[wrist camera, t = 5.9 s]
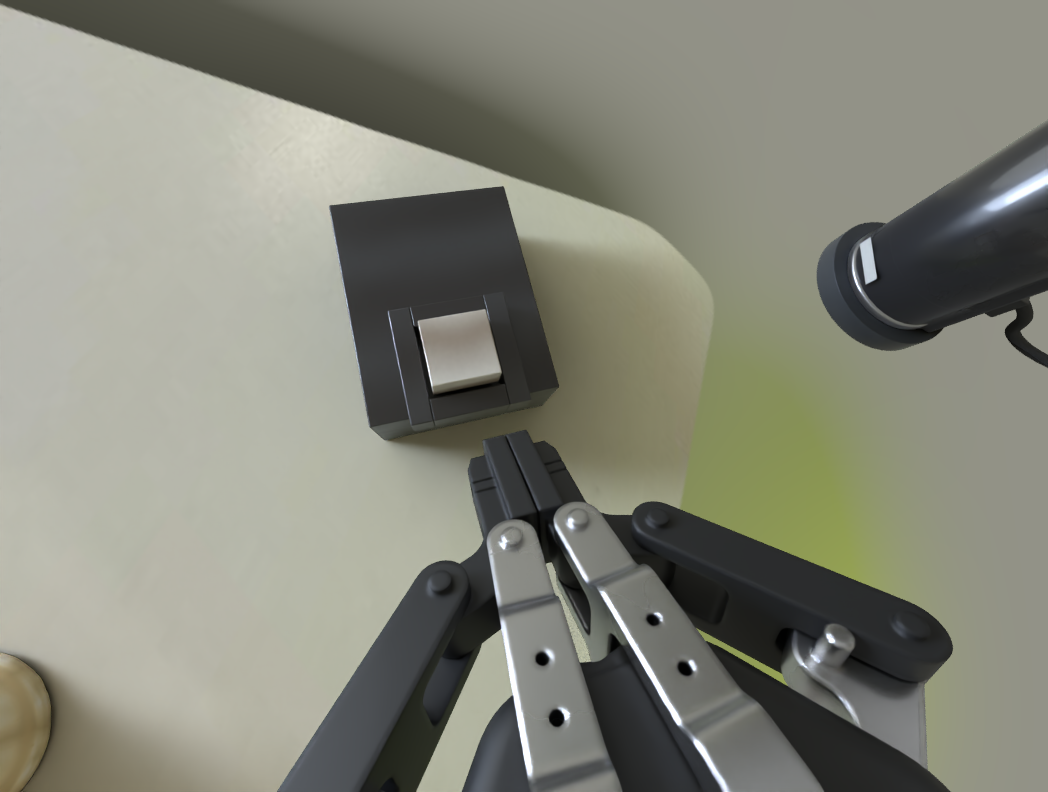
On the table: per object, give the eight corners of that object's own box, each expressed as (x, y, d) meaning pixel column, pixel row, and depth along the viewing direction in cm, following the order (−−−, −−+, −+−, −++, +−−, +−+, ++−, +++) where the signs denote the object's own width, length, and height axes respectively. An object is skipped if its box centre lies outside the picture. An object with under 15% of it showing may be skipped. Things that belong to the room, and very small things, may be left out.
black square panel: (545, 415, 31) (570, 391, 24) (386, 451, 28) (365, 436, 22) (496, 233, 33) (507, 165, 27) (348, 252, 31) (319, 184, 24)
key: (498, 381, 24) (502, 372, 22) (433, 395, 23) (431, 386, 21) (483, 321, 24) (486, 308, 23) (420, 333, 24) (417, 319, 22)
